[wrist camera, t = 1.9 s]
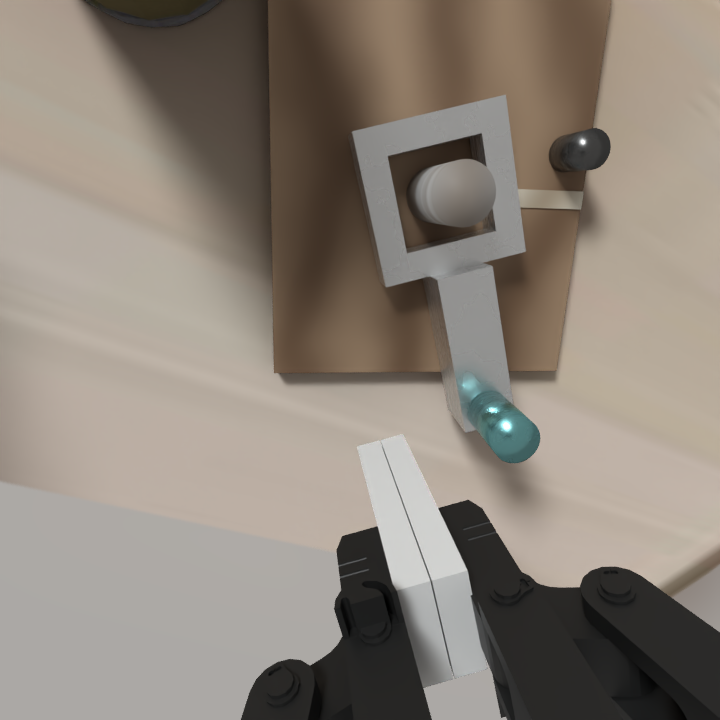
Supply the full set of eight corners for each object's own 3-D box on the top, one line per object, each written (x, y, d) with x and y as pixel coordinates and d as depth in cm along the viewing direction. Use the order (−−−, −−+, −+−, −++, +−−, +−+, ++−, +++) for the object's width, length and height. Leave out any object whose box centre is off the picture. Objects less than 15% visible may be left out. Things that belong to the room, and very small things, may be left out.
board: (274, 367, 32) (269, 409, 26) (267, -52, 26) (259, -138, 19) (547, 364, 35) (608, 403, 28) (602, -20, 28) (697, -88, 22)
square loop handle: (347, 136, 28) (367, 113, 21) (491, 101, 28) (559, 68, 21) (411, 422, 33) (443, 483, 26) (530, 390, 33) (595, 441, 26)
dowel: (536, 172, 31) (571, 168, 27) (541, 136, 30) (577, 127, 27) (568, 174, 31) (606, 170, 27) (573, 138, 31) (613, 129, 27)
